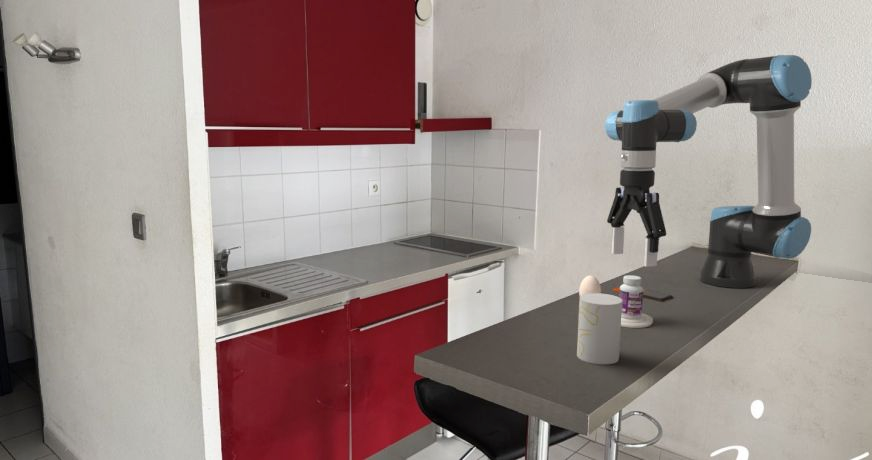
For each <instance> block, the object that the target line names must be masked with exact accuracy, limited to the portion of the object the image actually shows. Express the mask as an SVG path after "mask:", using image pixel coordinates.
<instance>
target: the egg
mask: <svg viewBox="0 0 872 460" xmlns="http://www.w3.org/2000/svg"><path fill="white" fill-rule="evenodd" d="M589 293H601V294H602V287H601V284H600V281H599V279H598V278H597V277H595V276H594V275H587V276H585V277H584V278H583V279H582V281H581V282H580V285H579V290H578V294H579V297H580V296H581V295H584V294H589Z"/></svg>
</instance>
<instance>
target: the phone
mask: <svg viewBox="0 0 872 460" xmlns="http://www.w3.org/2000/svg"><path fill="white" fill-rule="evenodd" d="M612 291H613V292H615V291H617V293H619V292H620V286H618V287H614V288H613V289H612ZM643 299H645V300H649V301H655V302H658V303H659V302H660V303H664V302H666V301H670V300H671V299H674V296H673V295H671V294H668V293H667V294H666V293H662V292H657V291H652V290H649V289H644V288H643Z"/></svg>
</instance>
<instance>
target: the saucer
mask: <svg viewBox="0 0 872 460" xmlns="http://www.w3.org/2000/svg"><path fill="white" fill-rule="evenodd" d="M653 324H654V319H653V317H652V316H650V315H648V314H646V313H643V312H642V315H641V317H640V318H639V319H626V318H622V317H621V327H623V328H627V329H628V328H629V329H644V328H647V327H651V326H652V325H653Z"/></svg>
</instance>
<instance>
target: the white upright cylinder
mask: <svg viewBox="0 0 872 460" xmlns="http://www.w3.org/2000/svg"><path fill="white" fill-rule="evenodd" d="M578 305H579V306H578V322H577V323H578V326H577V327H578V328H577V345H576V346H577V347H576V356H577V358H578V359H580V360H581V361H583V362H586V363H590V364H594V365H611V364H616V363H617V362H619V359H620V344H621V329H622V328H621V314H622V299H621V298H619V296H616V295H612V294H610V293H609V294H607V293H602V292H601V293H589V294H584V295H581V296H580V295H579V303H578Z"/></svg>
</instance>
